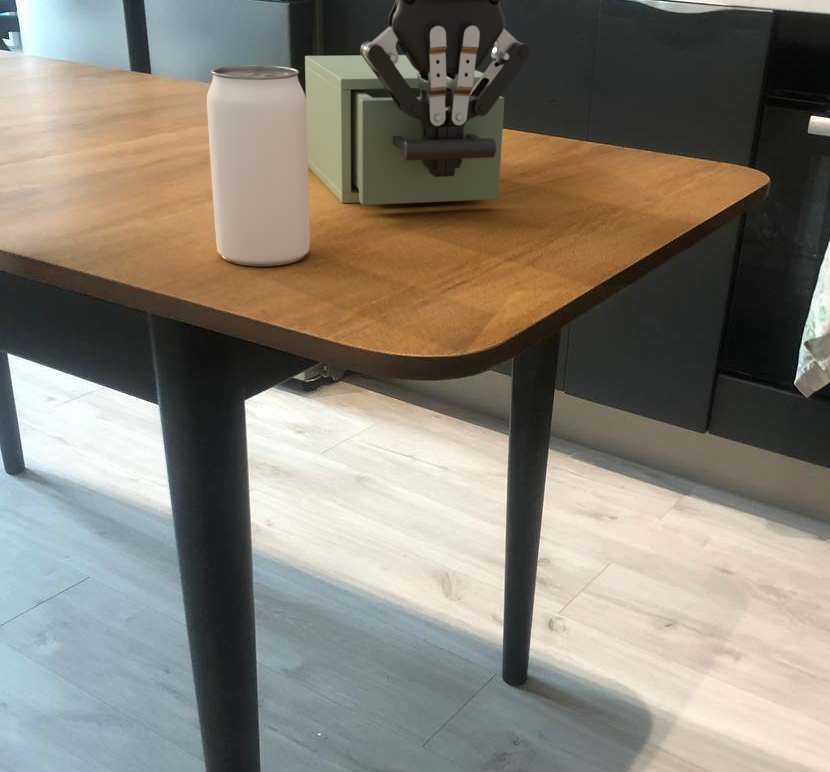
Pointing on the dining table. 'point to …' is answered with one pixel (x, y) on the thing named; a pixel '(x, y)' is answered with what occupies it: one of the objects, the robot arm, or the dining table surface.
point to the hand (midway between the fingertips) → (441, 174)
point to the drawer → (419, 154)
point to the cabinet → (340, 114)
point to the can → (259, 164)
